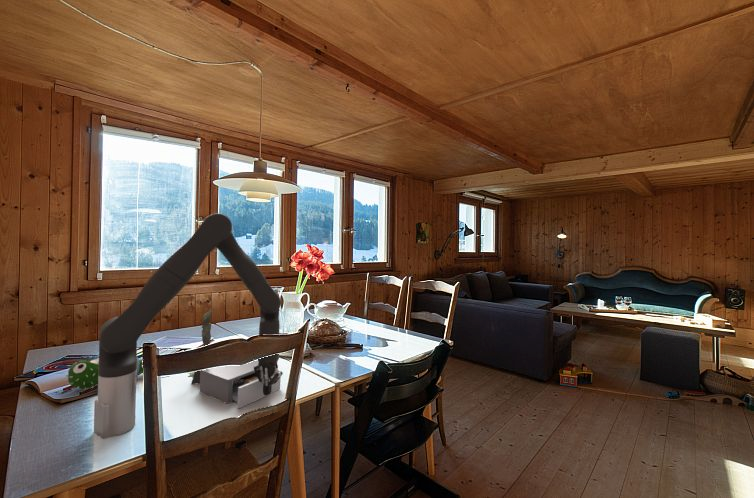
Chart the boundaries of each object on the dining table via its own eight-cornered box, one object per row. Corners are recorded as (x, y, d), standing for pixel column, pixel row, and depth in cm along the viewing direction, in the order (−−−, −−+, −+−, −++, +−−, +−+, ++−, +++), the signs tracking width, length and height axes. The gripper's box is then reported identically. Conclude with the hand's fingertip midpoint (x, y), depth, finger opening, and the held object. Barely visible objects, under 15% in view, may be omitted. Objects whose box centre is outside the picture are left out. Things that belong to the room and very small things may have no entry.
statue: (195, 377, 144) (197, 305, 144) (215, 376, 146) (217, 305, 145) (190, 384, 137) (193, 308, 137) (211, 383, 139) (214, 308, 139)
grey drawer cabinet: (268, 385, 139) (269, 364, 139) (227, 403, 123) (228, 380, 123) (241, 376, 147) (242, 356, 147) (199, 392, 131) (200, 369, 131)
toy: (169, 352, 141) (73, 362, 119) (168, 381, 139) (69, 397, 117) (151, 350, 155) (62, 359, 133) (150, 376, 153) (59, 390, 131)
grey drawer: (280, 389, 136) (280, 371, 136) (239, 408, 120) (239, 388, 120) (252, 379, 144) (253, 362, 144) (210, 396, 127) (211, 377, 127)
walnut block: (252, 395, 127) (252, 383, 127) (243, 392, 129) (244, 380, 129) (261, 391, 131) (262, 379, 131) (253, 388, 133) (253, 376, 133)
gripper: (289, 348, 126) (287, 395, 126) (264, 341, 132) (262, 386, 133) (273, 353, 119) (272, 403, 120) (247, 346, 126) (246, 393, 126)
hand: (266, 394), depth 126 cm, fingers closed
